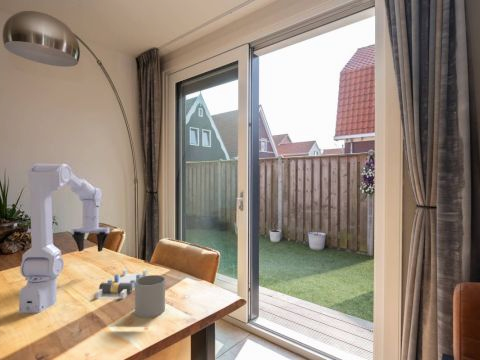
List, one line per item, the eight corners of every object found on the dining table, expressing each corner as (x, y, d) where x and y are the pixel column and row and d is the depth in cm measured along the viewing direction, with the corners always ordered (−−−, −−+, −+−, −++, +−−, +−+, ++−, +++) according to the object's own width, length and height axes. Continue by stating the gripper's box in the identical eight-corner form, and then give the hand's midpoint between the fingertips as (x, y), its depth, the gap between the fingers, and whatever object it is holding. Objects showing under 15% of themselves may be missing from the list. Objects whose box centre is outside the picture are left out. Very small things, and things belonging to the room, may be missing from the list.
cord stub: (132, 290, 98) (132, 281, 98) (129, 294, 95) (129, 284, 95) (103, 290, 98) (103, 281, 98) (98, 294, 95) (98, 284, 95)
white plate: (123, 302, 91) (123, 290, 91) (94, 301, 91) (94, 290, 91) (147, 276, 115) (147, 267, 115) (124, 276, 115) (125, 267, 115)
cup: (154, 305, 89) (154, 273, 89) (170, 313, 84) (171, 279, 84) (129, 315, 83) (129, 280, 83) (145, 324, 77) (145, 287, 77)
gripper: (113, 215, 119) (113, 248, 119) (78, 215, 119) (78, 248, 119) (105, 218, 112) (104, 253, 112) (68, 218, 112) (67, 252, 112)
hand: (90, 251), depth 115 cm, fingers open, 7 cm apart
